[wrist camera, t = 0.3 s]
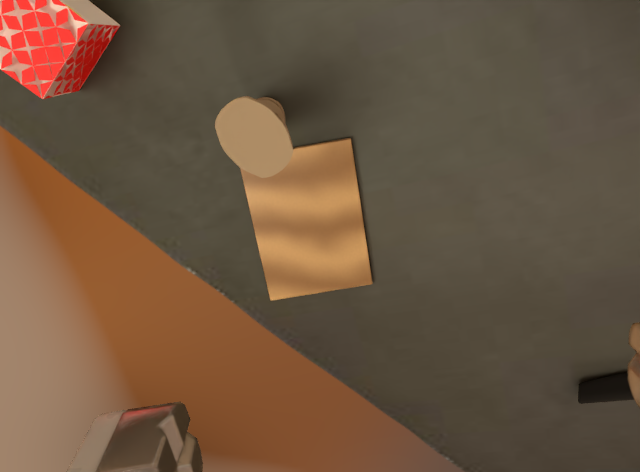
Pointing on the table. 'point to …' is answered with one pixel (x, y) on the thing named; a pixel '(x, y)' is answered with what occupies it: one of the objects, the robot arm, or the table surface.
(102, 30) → the red and white cube
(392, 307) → the table surface
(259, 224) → the oak board
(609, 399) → the electric trimmer
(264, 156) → the handle
